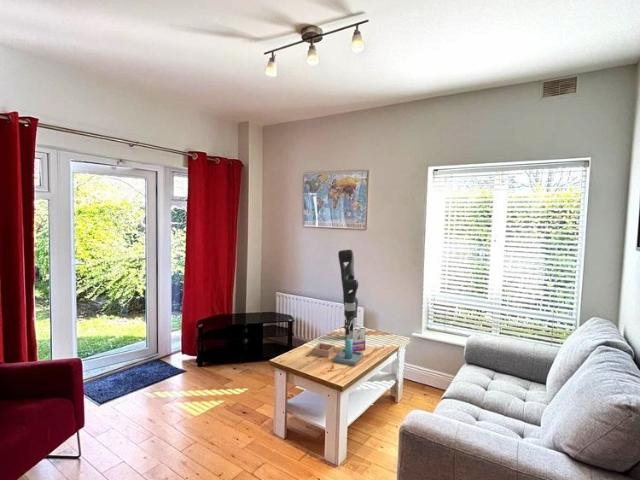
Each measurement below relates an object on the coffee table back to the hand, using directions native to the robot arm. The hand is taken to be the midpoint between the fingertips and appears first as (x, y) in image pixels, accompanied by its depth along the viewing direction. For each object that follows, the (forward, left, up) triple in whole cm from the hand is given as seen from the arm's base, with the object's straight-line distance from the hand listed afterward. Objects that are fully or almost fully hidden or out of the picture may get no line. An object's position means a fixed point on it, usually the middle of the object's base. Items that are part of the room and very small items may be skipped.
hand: (349, 332), depth 231 cm
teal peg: (0, 0, -17) cm, 17 cm away
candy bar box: (-19, 0, -18) cm, 26 cm away
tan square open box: (-2, -19, -18) cm, 27 cm away
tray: (0, 0, -18) cm, 18 cm away
